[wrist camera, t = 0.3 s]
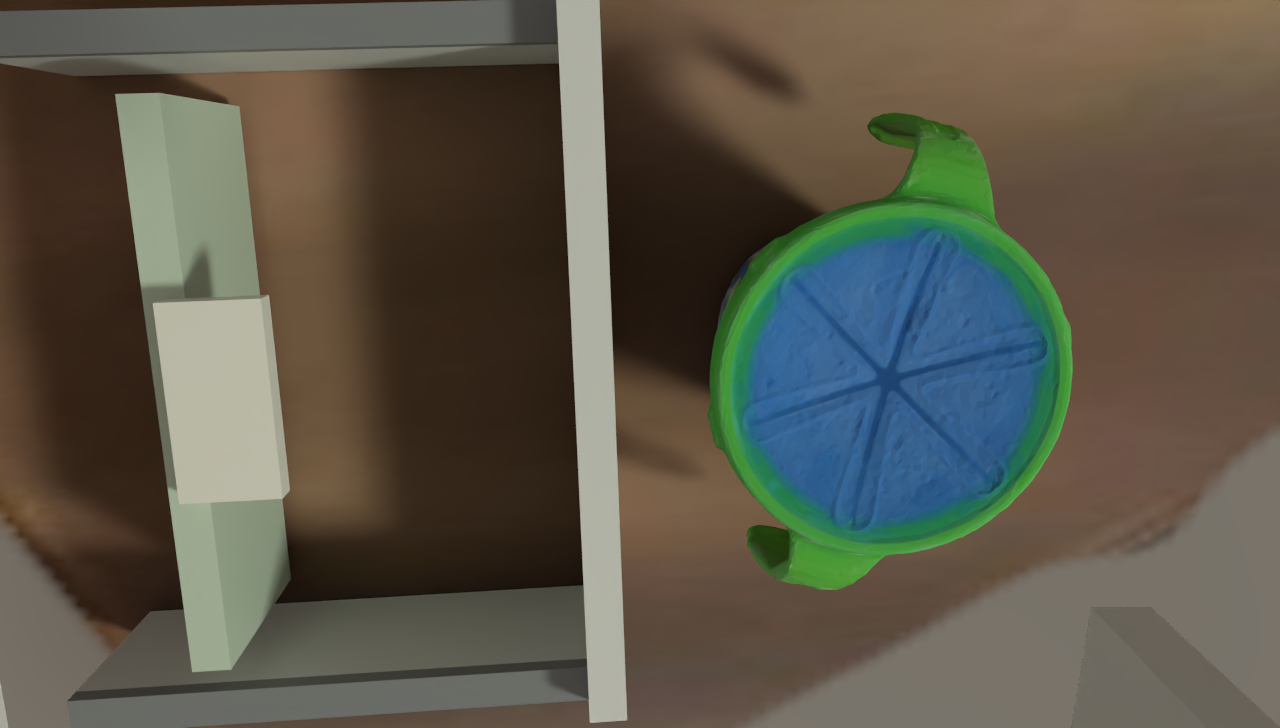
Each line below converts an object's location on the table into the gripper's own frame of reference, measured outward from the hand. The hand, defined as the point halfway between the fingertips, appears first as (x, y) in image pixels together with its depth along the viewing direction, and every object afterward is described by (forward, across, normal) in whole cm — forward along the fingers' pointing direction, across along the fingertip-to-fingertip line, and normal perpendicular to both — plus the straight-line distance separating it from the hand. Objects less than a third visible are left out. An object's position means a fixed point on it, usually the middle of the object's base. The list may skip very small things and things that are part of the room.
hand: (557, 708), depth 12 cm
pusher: (+25, -11, -3) cm, 28 cm away
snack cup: (+27, +9, -2) cm, 28 cm away
